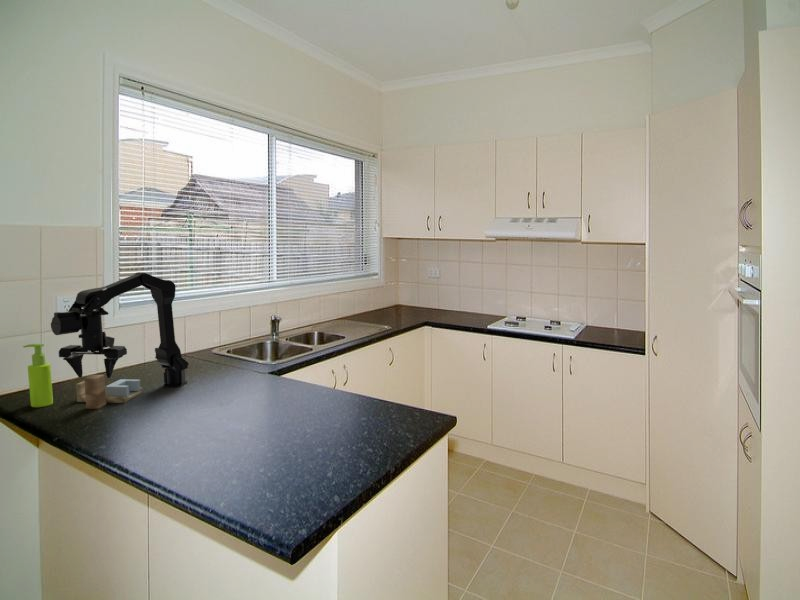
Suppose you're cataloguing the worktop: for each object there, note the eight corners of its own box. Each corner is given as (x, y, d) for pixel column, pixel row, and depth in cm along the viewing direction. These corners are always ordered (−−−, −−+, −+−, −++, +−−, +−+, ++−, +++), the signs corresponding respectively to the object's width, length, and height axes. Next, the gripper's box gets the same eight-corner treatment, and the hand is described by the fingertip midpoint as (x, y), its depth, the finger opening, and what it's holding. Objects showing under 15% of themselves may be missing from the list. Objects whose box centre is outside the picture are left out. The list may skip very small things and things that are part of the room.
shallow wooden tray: (142, 392, 171) (141, 375, 170) (124, 402, 160) (123, 385, 159) (97, 391, 171) (96, 375, 170) (77, 401, 160) (75, 384, 159)
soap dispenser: (35, 401, 160) (30, 342, 157) (57, 401, 160) (52, 342, 158) (23, 407, 154) (18, 346, 151) (45, 407, 154) (41, 346, 152)
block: (140, 389, 170) (140, 379, 169) (126, 397, 161) (126, 386, 161) (120, 389, 170) (120, 379, 169) (105, 397, 161) (105, 386, 161)
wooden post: (106, 404, 158) (104, 374, 157) (98, 408, 154) (96, 378, 153) (94, 404, 158) (92, 374, 157) (86, 408, 154) (84, 378, 153)
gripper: (134, 326, 161) (137, 371, 163) (79, 325, 161) (82, 370, 163) (115, 332, 150) (118, 380, 152) (55, 331, 150) (59, 379, 152)
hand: (94, 377), depth 155 cm, fingers open, 9 cm apart
